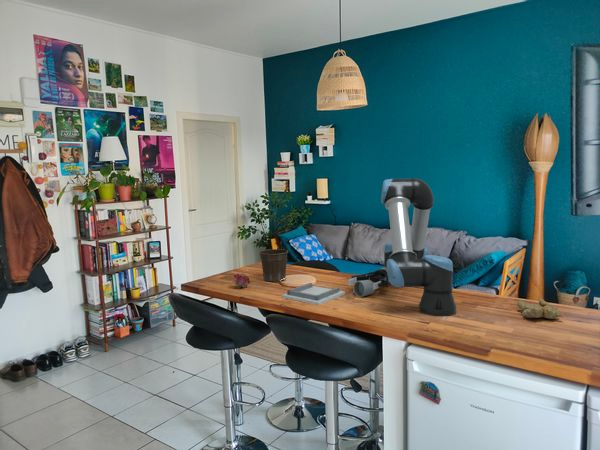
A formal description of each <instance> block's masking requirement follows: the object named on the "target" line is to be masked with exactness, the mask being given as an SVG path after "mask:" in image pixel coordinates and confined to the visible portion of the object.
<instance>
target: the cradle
mask: <svg viewBox="0 0 600 450" xmlns="http://www.w3.org/2000/svg"><path fill="white" fill-rule="evenodd" d="M340 289H341V288H340V287H335V288H327V287H321V286H315V285H313V282H309V283H306V284H303V285H300V286H297V287H294V288H291V289H288V290H287V291H286V292H287V293H283V294H282V295H281V298H283V299H288V300H291V301H292V300H293V301H298V302H302V303H307V304H311V305H317V306H320V305H322V304H324V303H327V302H330V301H332V300H335V299H337V298H340V297H342V296H343V295H346V291H344V290H340Z"/></svg>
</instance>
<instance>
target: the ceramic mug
mask: <svg viewBox="0 0 600 450" xmlns="http://www.w3.org/2000/svg"><path fill="white" fill-rule="evenodd" d="M374 283H375V282H372V281H371V280H370V279H369V280H362V281H357V282H355V284H353V289H352V292H353V294H355V295H356V297H359V298H363V297H367V296H370V295H373V294H374V293H375V291H376V289H375V290H373V284H374Z"/></svg>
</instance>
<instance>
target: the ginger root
mask: <svg viewBox="0 0 600 450" xmlns="http://www.w3.org/2000/svg"><path fill="white" fill-rule="evenodd" d="M537 300H538V304H535V303H528V302H527V301H524V300H518V301H517V302H516V306H517V307H518V308H519V309H520V310H522V312H521V315H522V316H523V317H525V318H527V319H534V318H535V319H536V318H537V319H539V318H542V317H544V318H546V319H548V320H556V319H557V318H563V317H564V314H562V313H560V310H559V308H558V306H556V305H551V304H550V303H549V302H547V301H545V300H544V299H543V298H541V297H538V299H537ZM544 318H543V319H544Z"/></svg>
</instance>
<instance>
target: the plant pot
mask: <svg viewBox="0 0 600 450" xmlns="http://www.w3.org/2000/svg"><path fill="white" fill-rule="evenodd" d="M258 253H259V257H260V260H261V267H262V275H263V281H265V282H266V283H267V282H269V283H270V282H273V283H278V282H279V281H280V280H281V279H283V278H285V277H286V275H287V271H286V270H287V261H288V259H287V258H288V253H289V250H287V249H282V248H281V249H279V248H276V249H275V248H274V249H273V248H271V249H270V248H269V249H263V250H260V251H259V252H258ZM280 282H281V281H280Z"/></svg>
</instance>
